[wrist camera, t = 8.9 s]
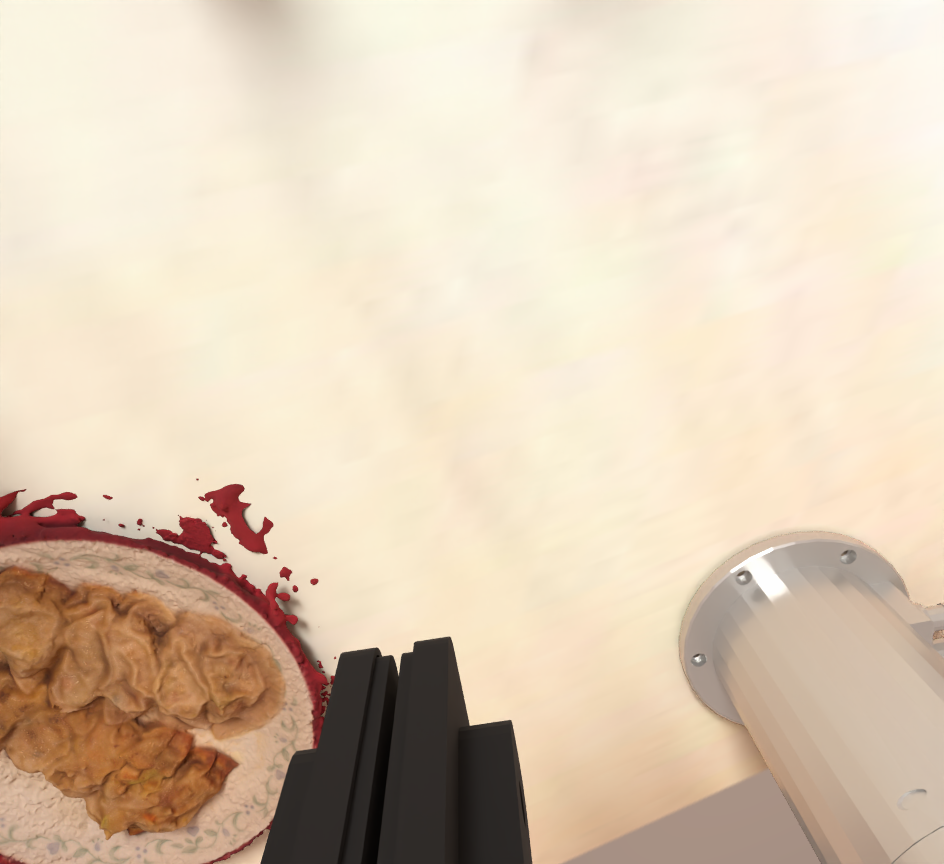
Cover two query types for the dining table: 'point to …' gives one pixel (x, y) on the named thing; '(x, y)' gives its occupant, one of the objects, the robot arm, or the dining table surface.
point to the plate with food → (142, 692)
